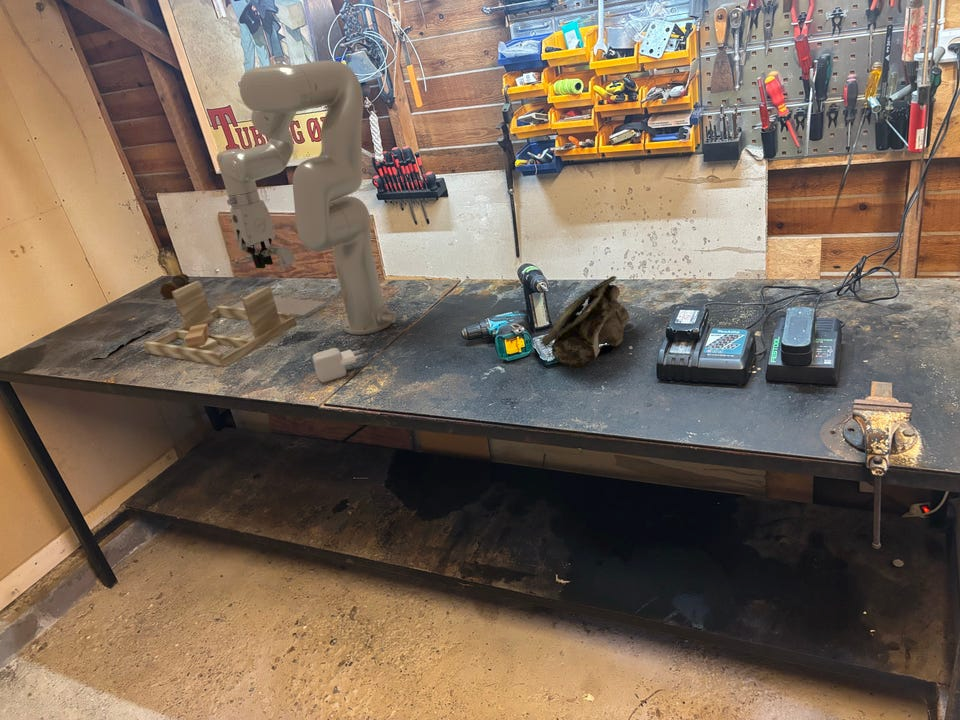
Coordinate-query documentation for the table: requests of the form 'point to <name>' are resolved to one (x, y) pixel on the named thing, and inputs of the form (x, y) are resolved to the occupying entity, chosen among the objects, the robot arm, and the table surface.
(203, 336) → the offcut top
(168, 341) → the rack
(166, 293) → the brown lumpy piece
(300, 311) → the plate
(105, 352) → the driftwood
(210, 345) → the offcut bottom
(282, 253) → the bracket
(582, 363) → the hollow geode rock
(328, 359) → the power adapter
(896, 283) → the table surface
